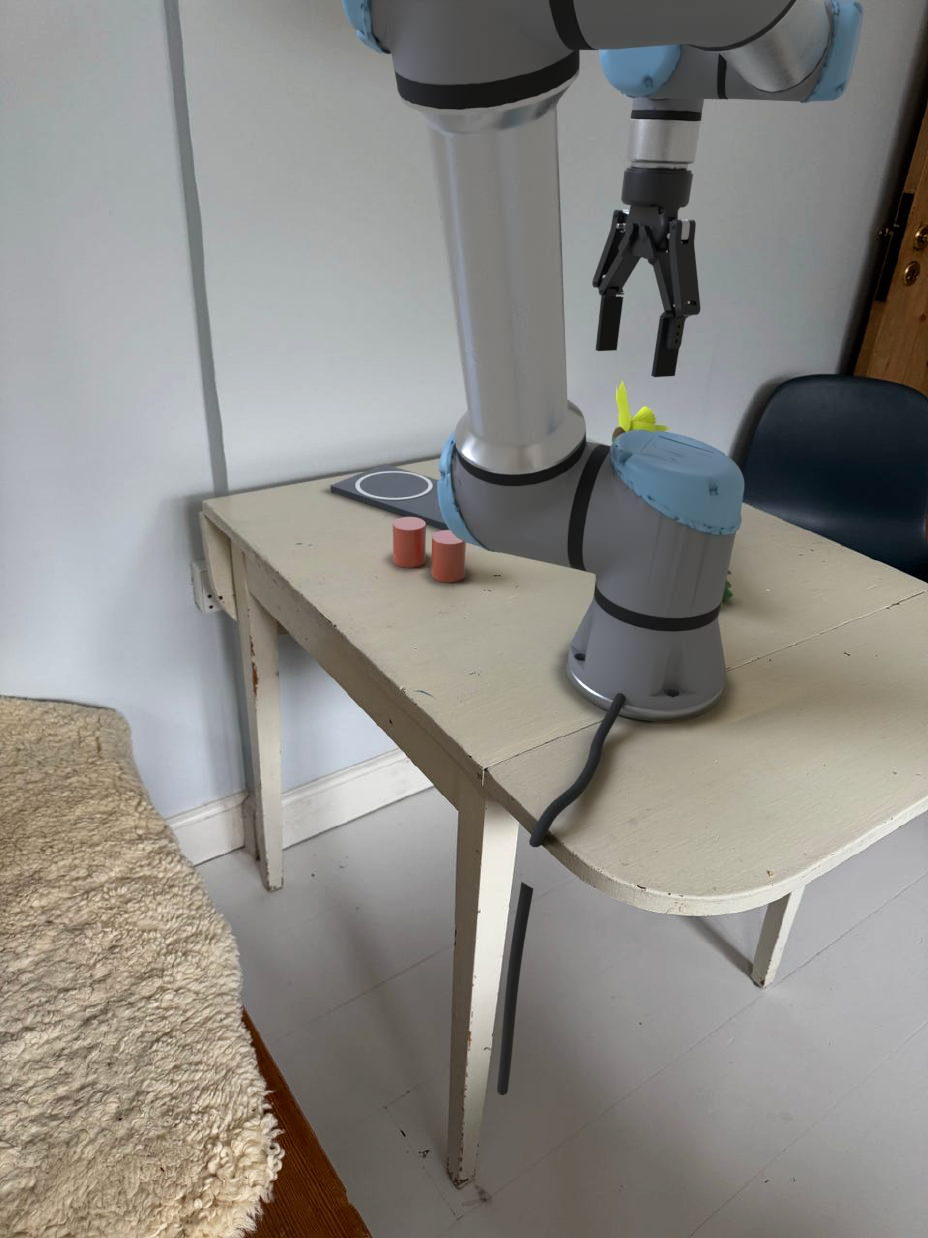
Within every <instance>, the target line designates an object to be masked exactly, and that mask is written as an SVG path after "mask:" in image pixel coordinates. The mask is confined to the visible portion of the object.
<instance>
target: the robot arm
mask: <svg viewBox="0 0 928 1238" xmlns="http://www.w3.org/2000/svg"><path fill="white" fill-rule="evenodd" d="M341 4H342V8H343V10H344V13H345V16H346V19H347V20H348V22H349V24H350V26H351V28H352V29H354V30H355V31H356V37H357V38H358V39H359V40H360V41H361V42H362V44H363V45H365V46H366V47H368V48H369V49H372V50H374V51H375V52H376V53H378V54H384V55H391V60H392V64H393V65H392V66H393V70H394V75H395V83H396V89H397V94H398V98H399V100H400V101H401V103H403V104H404V105H405V106H406V107H407V108H409V109H410V110H411V111H413V112H414V113H415V114H416V115H417V116H419V117H420V118H421V119H422V120H424V122H425V124H426V131H427V137H428V144H429V151H430V152H429V153H430V158H431V165H432V173H433V179H434V186H435V195H436V201H437V207H438V214H439V222H440V229H441V235H442V241H443V249H444V255H445V263H446V270H447V277H448V283H449V290H450V291H449V292H450V297H451V305H452V310H453V318H454V324H455V332H456V339H457V347H458V353H459V354H458V355H459V359H460V367H461V368H460V369H461V372H462V380H463V388H464V393H465V394H464V395H465V402H466V407H467V408H466V409H467V410H466V411H465V412H464V413H463V414H462V415H461V417H460V418H459V420H458V422H457V424H456V426H455V428H454V430H453V431H452V432H451V433H450V435H449V436H448V438H447V440H446V441H445V443H444V445H443V448H442V451H441V454H440V457H439V463H438V468H437V470H438V472H439V473H440V477H439V479H438V480H439V481H438V482H437V491H438V501H439V506H440V510H441V513H442V516H443V519H444V521H445V523H446V525H447V527H448V528H449V530H450V531H451V532H452V533H453V534H454V535H455V536H456V537H457V538H459V539H460V540H462V541H464V542H466V544H470V545H473V546H476V547H479V548H482V549H483V550H485V551H487V552H491V553H501V554H506V555H509V556H510V555H511V556H514V557H518V558H525V559H528V560H533V561H537V562H542V563H547V564H551V565H555V566H560V567H563V568H564V567H565V568H568V569H573V570H578V571H582V572H586V573H589V574H593V575H595V581H594V583H595V584H594V590H593V597H592V600H591V602H590V604H589V606H588V608H587V610H586V612H585V614H584V616H583V618H582V619H581V622H580V624H579V625H578V628H577V629H576V631H575V633H574V635H573V637H572V639H571V641H570V643H569V647H568V651H567V655H566V663H565V665H566V666H565V669H566V670H565V671H566V675H567V678H568V681H569V682H570V684H571V685H572V686H573V688H574V689H575V690H576V691H577V692H578V693H579V694H580V695H581V696H582V697H583V698H584V699H586V700H587V701H589V702H591V703H592V704H594V705H596V706H597V707H599V708H602V709H603V710H606V714H605V715H604V717H603V719H602V721H601V723H600V724H599V725H598V728H597V730H596V732H595V734H594V737H593V739H592V742H591V744H590V748H589V753H588V757H587V759H586V762H585V765H584V767H583V768H582V771H581V773H580V774H579V776H578V777H577V778H576V780H575V781H574V783H572V785H571V786H570V787H569V788H567V790H565V791H564V792H562V794H560V795H558V796H557V797H556V798H555V799H553V801H551V803H550V804H549V805H548V806H547V807H546V808H545V810H543V812H542V813H541V816H539V819H538V821H537V822H536V824H535V826H534V828H533V830H532V833H531V836H530V838H529V839H528V840H529V841H528V842H529V843H528V844H529V846H530V847H532V848H539V847H541V846H542V844H543V843H544V840H545V838H546V835H547V834H548V831H549V829H550V828H551V826H552V824H553V823H554V821H555V820H556V818H557V817H558V816H559V815H560V814H561V813H562V812H563V811H564V810H565V809H566V808H567V807H569V806H570V805H571V804H573V803H574V802H575V801H576V800H577V799H578V798H579V797H580V796H581V795H582V794H583V793H584V791H586V789H587V787H588V786H589V785H590V783H591V781H592V779H593V777H594V775H595V774H596V771H597V769H598V766H599V763H600V760H601V756H602V751H603V746H604V743H605V741H606V739H607V737H608V735H609V733H610V731H611V729H612V727H613V725H614V724H615V721H616V720H617V718H618V716H622V717H626V718H630V719H635V720H641V721H650V722H676V721H682V720H689V719H691V718H696V717H698V716H700V715H703V714H705V713H706V712H709V711H710V710H711V709H713V708H714V707H715V706H716V705H717V704H718V703H719V701H720V700H721V698H722V695H723V692H724V686H725V682H726V671H727V670H726V669H727V668H726V662H725V655H724V647H723V641H722V634H721V629H720V622H719V616H720V611H721V606H722V602H723V593H724V588H725V583H726V579H727V577H728V575H727V573H728V570H729V568H730V563H731V557H732V553H733V548H734V543H735V539H736V535H737V532H738V531H739V530H740V528H741V525H742V520H743V519H742V507H743V500H744V493H745V477H744V475H743V473H742V470H741V469H740V467H739V466H738V464H737V463H736V462H735V461H734V460H733V459H732V458H730V456H727V455H726V454H725V452H723V451H721V450H720V449H718V448H716V447H715V446H712V445H710V444H708V443H705V442H703V441H701V440H698V439H696V438H693V437H689V436H686V435H683V434H678V433H674V432H670V431H656V430H655V431H653V432H649V431H646V430H633V431H628V432H625V433H622V434H620V435H619V436H618V437H617V438H616V439H615V441H614V442H613V443H611V444H610V445H607V444H602V443H597V442H592V441H587V425H586V424H587V423H586V420H585V416H584V414H583V412H582V411H581V409H580V407H578V406H577V405H576V404H575V403H574V402H573V401H571V400H570V399H568V379H567V378H568V377H567V351H566V350H567V349H566V324H565V323H566V322H565V320H566V319H565V295H564V292H565V291H564V271H563V269H564V268H563V267H564V264H563V245H562V244H563V241H562V240H563V239H562V238H563V237H562V210H561V186H560V185H561V183H560V155H559V131H558V130H559V128H558V104H559V101H560V100H561V98H562V97H563V96H564V95H565V94H566V92H568V90H569V89H570V87H571V86H572V85H573V84H574V82H575V81H576V80H577V78H578V77H579V75H580V70H581V69H580V68H581V67H580V64H581V61H580V60H581V57H580V56H581V55H580V51H599V53H598V55H599V56H598V57H599V62H600V67H601V71H602V73H603V75H604V77H605V80H607V82H608V83H609V84H610V85H611V86H612V87H613V88H614V89H616V90H617V91H618V92H620V93H621V95H625V96H626V97H627V98H629V99H632V103H631V112H630V119H629V125H628V126H629V127H628V135H627V142H626V150H625V161H627V162H630V163H629V167H626V168H625V170H624V171H623V179H622V186H621V189H622V190H621V195H620V201H621V202H622V204H624V205H626V206H630V207H629V209H614V211H613V214H612V218H611V225H610V229H609V233H608V234H607V235H608V236H607V238H606V240H605V244H604V246H603V249H602V253H601V255H600V258H599V260H598V264H597V267H596V269H595V273H594V276H593V279H592V283H591V285H592V287H593V288H594V289H595V288H597V289H598V294H599V296H600V304H599V313H598V323H597V325H598V326H597V332H596V342H595V351H597V352H612V351H618V344H619V343H618V342H619V336H620V328H621V319H622V311H623V303H624V295H625V291H624V289H623V288H624V286H625V285H626V284H627V281H628V280H629V279H630V277H631V275H632V273H633V272H634V270H635V268H636V266H637V265H638V263H639V261H640V260H641V259H645V260H646V261H647V263H648V264H649V265H651V267H652V268H653V272H654V276H655V280H656V284H657V287H658V291H659V296H660V301H661V304H662V307H663V312H662V313H661V314H660V315H659V320H658V328H657V334H656V339H655V340H656V341H655V347H654V355H653V361H652V370H651V375H650V376H651V377H653V378H665V377H675V376H676V371H677V364H678V359H679V358H678V357H679V354H680V353H679V351H680V348H681V346H682V341H683V336H684V329H685V324H686V320H687V319H688V318H689V317H692V316H698V315H699V314H700V312H701V300H700V299H701V297H700V288H699V280H698V279H699V278H698V270H697V269H698V268H697V267H698V266H697V258H696V248H695V238H696V237H695V236H696V227H697V223H696V220H694V219H679V210H680V209H681V208H685V207H687V206H688V205H689V203H690V197H691V191H692V184H693V180H694V179H693V178H694V173H692V172H693V170H691V169H688V167H689V165H692V164H693V163H695V161H696V154H697V149H698V141H699V137H700V136H699V134H700V127H701V122H702V116H703V109H704V102H705V100H726V101H727V100H746V101H747V100H749V101H750V100H751V101H774V102H775V101H776V102H777V101H778V102H799V103H800V104H809V103H811V102H833V101H836V100H838V99H840V98H841V97H842V96H843V95H844V94H845V93H846V91H847V89H848V87H849V84H850V80H851V77H852V73H853V69H854V65H855V62H856V57H857V52H858V49H859V43H860V38H861V32H862V27H863V20H864V7H863V5H862V3H861V2H860V1H859V0H341ZM533 895H534V887H532V886H530V885H528V884H526V883H525V882H523V881H520V889H519V894H518V901H517V907H516V912H515V916H514V917H515V918H514V923H513V931H512V937H511V943H510V950H509V959H508V966H507V975H506V983H505V994H504V1005H503V1007H504V1008H503V1016H502V1029H501V1031H502V1032H501V1044H500V1054H499V1055H500V1056H499V1067H498V1076H497V1077H498V1078H497V1085H496V1091H497V1093H498V1094H499V1095H500V1096H505V1095H507V1094H508V1091H509V1086H510V1085H509V1084H510V1075H511V1068H512V1067H511V1066H512V1056H513V1046H514V1036H515V1035H514V1034H515V1026H516V1025H515V1024H516V1014H517V1013H516V1012H517V1003H518V995H519V994H518V992H519V986H520V985H519V983H520V977H521V968H522V962H523V961H522V960H523V954H524V946H525V942H526V941H525V940H526V935H527V928H528V922H529V917H530V910H531V906H532V905H531V904H532V900H533Z"/></svg>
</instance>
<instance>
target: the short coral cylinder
mask: <svg viewBox="0 0 928 1238" xmlns="http://www.w3.org/2000/svg"><path fill="white" fill-rule="evenodd" d="M466 549H467V543H466V542H464V541H462V540H460V539H459V538H457V537H456V536H455V535H454V534H453V533H452V532H451V531H450V530H443V529H442V530H438V531H436V532H434V533H433V534H432V536H431V569H430V570H431V577H432V578H433V579H434V580H436V581H438V582H440V583H448V584H449V583H457V582H460V581H462V580H463V579H465V576H466V556H467V555H466V552H467V550H466Z"/></svg>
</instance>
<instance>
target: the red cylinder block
mask: <svg viewBox="0 0 928 1238" xmlns="http://www.w3.org/2000/svg"><path fill="white" fill-rule="evenodd" d="M426 549H427V524H426V523H425V521H424V520H422V519H420V518H416V517H404V516H401V517H399V518H396V519H394V520H393V522H392V561H393V563H394V564H395V565H396V566H397V567H401V568H406V569H407V568H408V569H413V568H418V567H422V566H423V565H424V564H426V559H427V558H426V557H427V556H426V555H427V553H426V552H427V551H426Z"/></svg>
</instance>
